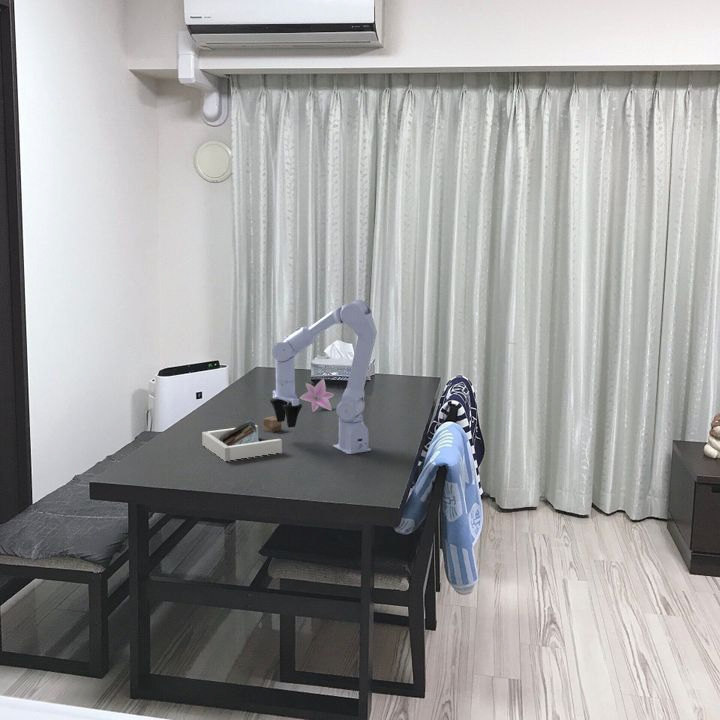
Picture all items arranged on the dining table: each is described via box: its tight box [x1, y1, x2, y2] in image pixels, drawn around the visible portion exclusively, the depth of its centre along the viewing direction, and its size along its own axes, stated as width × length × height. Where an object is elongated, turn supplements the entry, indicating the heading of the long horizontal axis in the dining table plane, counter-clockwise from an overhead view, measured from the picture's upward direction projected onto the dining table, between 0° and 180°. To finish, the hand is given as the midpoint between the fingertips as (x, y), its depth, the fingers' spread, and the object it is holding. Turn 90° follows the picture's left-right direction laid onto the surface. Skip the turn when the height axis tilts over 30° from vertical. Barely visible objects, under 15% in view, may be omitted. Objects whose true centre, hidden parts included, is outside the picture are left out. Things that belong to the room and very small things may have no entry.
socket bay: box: [201, 424, 283, 462], centre depth 251 cm, size 19×18×4 cm
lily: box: [299, 378, 335, 413], centre depth 300 cm, size 12×12×10 cm
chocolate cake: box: [219, 418, 260, 446], centre depth 255 cm, size 10×7×12 cm
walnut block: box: [263, 415, 282, 433], centre depth 272 cm, size 4×4×4 cm
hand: (286, 424), depth 257 cm, fingers open, 7 cm apart
